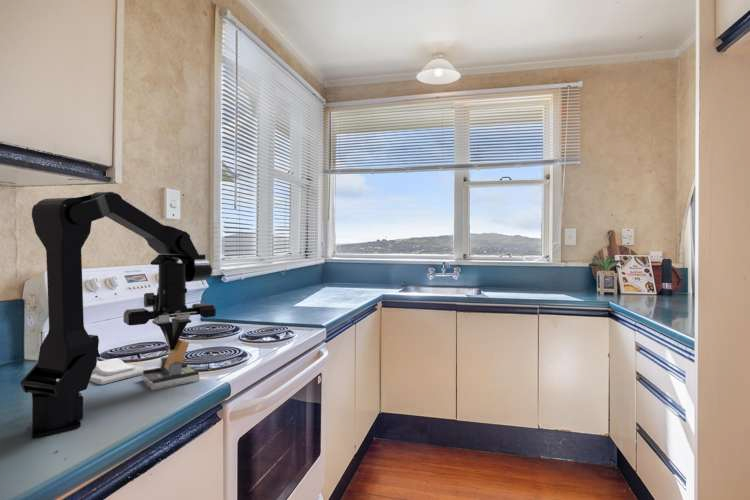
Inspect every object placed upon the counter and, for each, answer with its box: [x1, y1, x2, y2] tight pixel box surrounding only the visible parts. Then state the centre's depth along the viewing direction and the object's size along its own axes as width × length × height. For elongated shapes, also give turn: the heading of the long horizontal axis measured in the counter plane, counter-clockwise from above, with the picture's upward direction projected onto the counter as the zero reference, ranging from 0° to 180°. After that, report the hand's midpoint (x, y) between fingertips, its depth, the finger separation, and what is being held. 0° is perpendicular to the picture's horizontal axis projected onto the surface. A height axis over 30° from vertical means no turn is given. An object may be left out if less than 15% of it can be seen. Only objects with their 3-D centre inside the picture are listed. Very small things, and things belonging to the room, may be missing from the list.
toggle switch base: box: [141, 356, 200, 391], centre depth 93 cm, size 10×9×5 cm
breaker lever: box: [164, 338, 190, 372], centre depth 94 cm, size 2×5×8 cm, turn 43°
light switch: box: [89, 357, 149, 385], centre depth 97 cm, size 11×4×13 cm
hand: (171, 349), depth 93 cm, fingers closed
